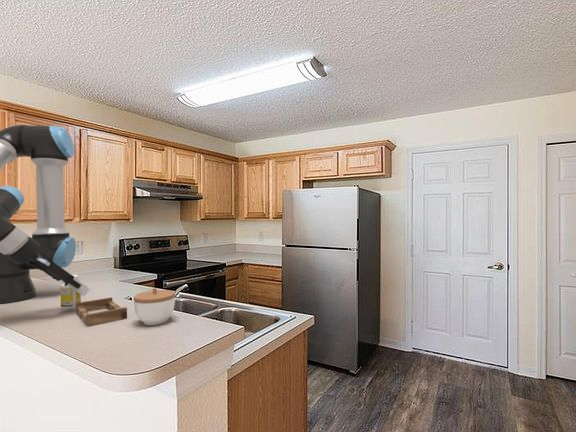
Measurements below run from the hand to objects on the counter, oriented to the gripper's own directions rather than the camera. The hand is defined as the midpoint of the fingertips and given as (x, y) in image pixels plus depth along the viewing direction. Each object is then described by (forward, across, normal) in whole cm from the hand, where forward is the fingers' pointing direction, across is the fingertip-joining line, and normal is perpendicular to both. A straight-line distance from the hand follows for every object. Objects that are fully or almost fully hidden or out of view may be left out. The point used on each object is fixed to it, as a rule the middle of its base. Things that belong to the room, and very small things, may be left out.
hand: (82, 291), depth 109 cm
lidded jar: (+9, +32, +1) cm, 34 cm away
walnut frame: (+4, +13, -4) cm, 14 cm away
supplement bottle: (+1, 0, -6) cm, 6 cm away
